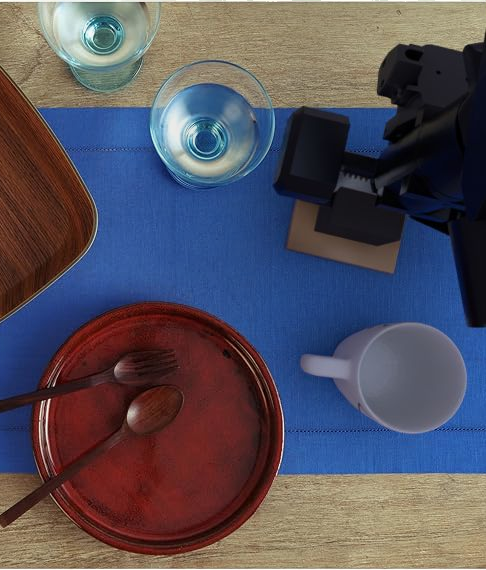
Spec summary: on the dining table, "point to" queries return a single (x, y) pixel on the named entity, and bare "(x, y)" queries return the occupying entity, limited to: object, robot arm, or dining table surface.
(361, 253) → the cork mat
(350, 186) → the robot arm
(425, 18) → the dining table surface
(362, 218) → the pad top
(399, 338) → the mug
